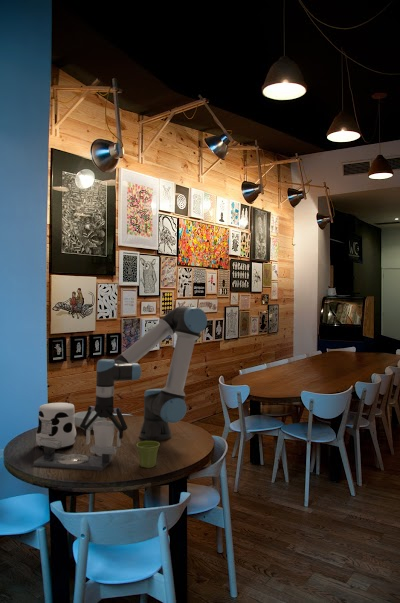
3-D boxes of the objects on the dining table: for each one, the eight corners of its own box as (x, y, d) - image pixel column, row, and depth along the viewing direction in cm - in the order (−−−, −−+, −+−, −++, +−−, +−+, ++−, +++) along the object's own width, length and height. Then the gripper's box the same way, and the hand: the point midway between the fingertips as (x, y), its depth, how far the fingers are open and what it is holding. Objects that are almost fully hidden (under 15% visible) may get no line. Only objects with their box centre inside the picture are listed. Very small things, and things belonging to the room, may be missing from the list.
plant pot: (139, 470, 191) (140, 448, 190) (133, 463, 199) (133, 442, 199) (162, 468, 194) (163, 446, 194) (155, 460, 203) (155, 439, 203)
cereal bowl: (94, 434, 240) (94, 419, 240) (66, 430, 246) (66, 416, 246) (112, 426, 256) (113, 412, 256) (85, 422, 262) (85, 409, 262)
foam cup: (95, 458, 204) (96, 427, 204) (89, 452, 212) (90, 422, 212) (117, 455, 209) (118, 424, 208) (111, 449, 217) (111, 419, 217)
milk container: (73, 439, 231) (74, 401, 231) (78, 450, 214) (79, 409, 214) (35, 442, 225) (35, 403, 224) (36, 453, 208) (37, 411, 208)
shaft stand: (120, 460, 202) (120, 442, 202) (110, 471, 189) (111, 452, 189) (41, 455, 207) (41, 437, 207) (26, 465, 194) (26, 446, 194)
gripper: (73, 395, 208) (71, 445, 208) (130, 399, 205) (129, 449, 205) (80, 392, 216) (78, 440, 216) (135, 395, 212) (133, 444, 212)
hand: (103, 445), depth 210 cm, fingers open, 13 cm apart
